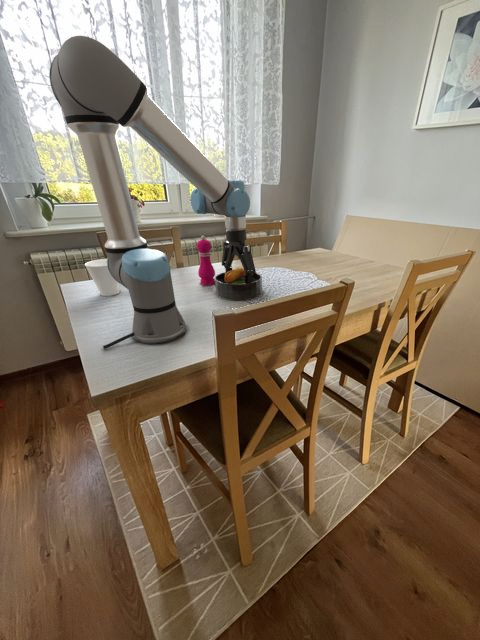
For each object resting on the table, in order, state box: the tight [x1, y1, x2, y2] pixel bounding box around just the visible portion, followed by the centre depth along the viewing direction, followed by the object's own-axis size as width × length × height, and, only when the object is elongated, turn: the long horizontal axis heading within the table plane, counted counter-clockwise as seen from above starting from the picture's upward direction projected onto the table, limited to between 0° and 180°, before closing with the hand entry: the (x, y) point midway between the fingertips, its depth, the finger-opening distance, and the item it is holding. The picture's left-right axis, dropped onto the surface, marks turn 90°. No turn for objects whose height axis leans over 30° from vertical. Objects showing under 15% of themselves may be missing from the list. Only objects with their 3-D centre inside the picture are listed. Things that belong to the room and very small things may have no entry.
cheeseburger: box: [224, 266, 245, 284], centre depth 116 cm, size 10×11×10 cm
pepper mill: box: [196, 235, 216, 286], centre depth 124 cm, size 7×7×20 cm
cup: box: [84, 258, 120, 297], centre depth 116 cm, size 12×12×12 cm
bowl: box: [214, 271, 263, 301], centre depth 117 cm, size 19×19×6 cm
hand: (238, 287), depth 117 cm, fingers closed on cheeseburger, 11 cm apart
